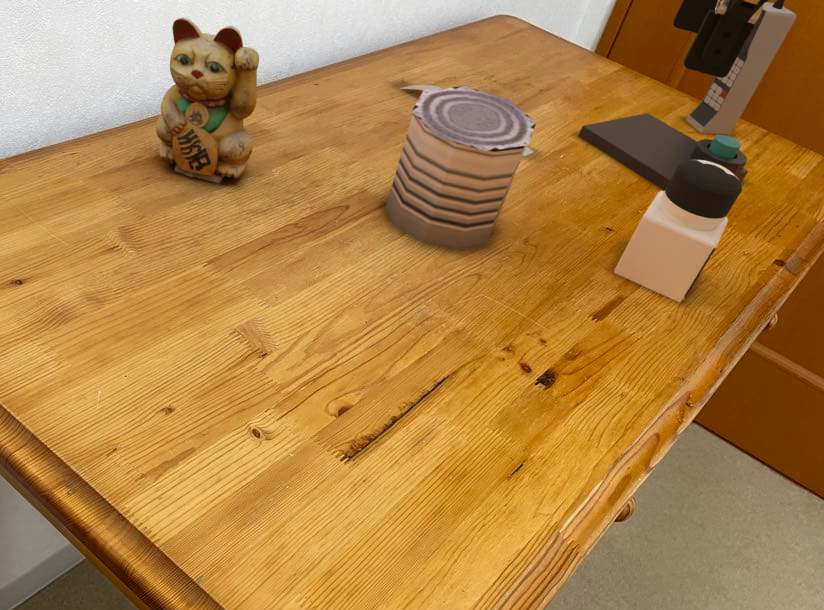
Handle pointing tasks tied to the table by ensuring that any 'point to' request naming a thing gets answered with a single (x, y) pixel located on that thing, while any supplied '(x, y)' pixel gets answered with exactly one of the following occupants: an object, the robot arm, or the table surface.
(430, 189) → the can
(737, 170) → the scale
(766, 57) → the vintage mobile phone
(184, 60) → the decorative figurine
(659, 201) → the medicine bottle
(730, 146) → the button
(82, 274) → the table surface
